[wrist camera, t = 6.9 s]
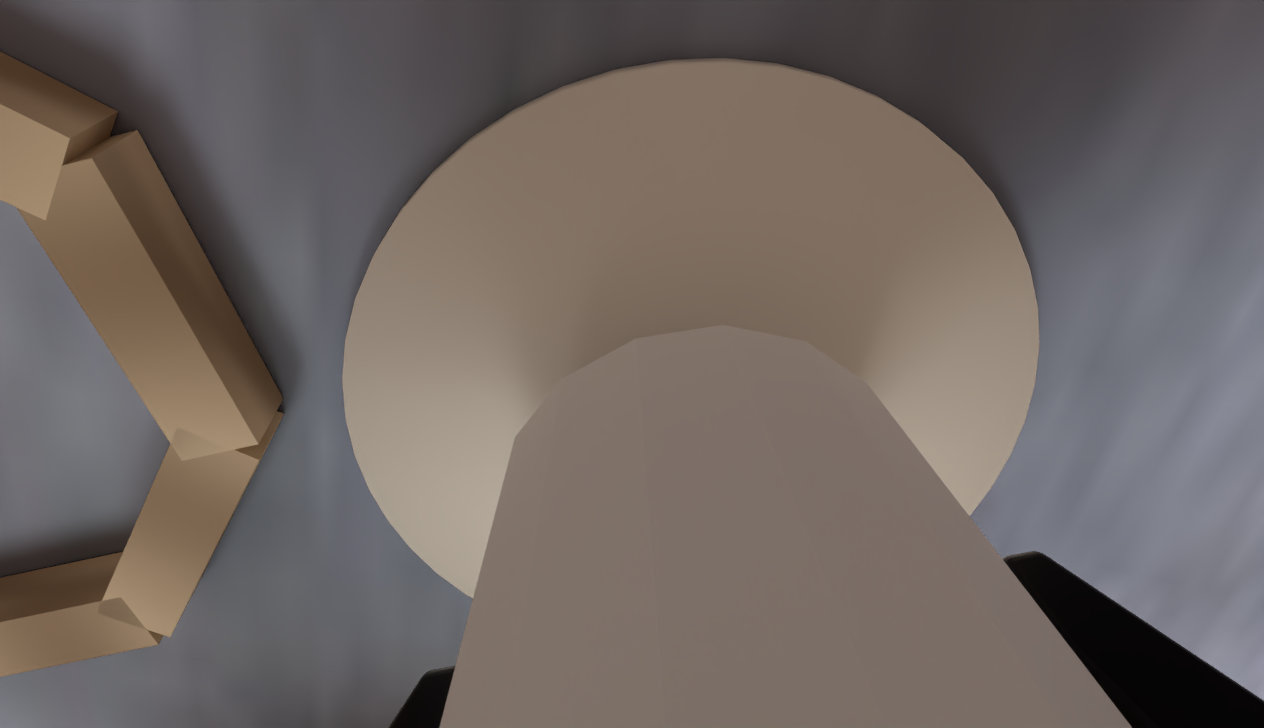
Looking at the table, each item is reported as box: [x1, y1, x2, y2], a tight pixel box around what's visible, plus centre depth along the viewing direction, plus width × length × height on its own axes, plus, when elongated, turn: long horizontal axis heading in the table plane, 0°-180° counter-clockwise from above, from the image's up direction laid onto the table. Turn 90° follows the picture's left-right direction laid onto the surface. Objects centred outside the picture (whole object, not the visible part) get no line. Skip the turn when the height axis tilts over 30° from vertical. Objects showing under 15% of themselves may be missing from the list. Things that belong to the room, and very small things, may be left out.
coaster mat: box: [342, 58, 1039, 598], centre depth 14 cm, size 11×11×1 cm
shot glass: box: [439, 325, 1132, 728], centre depth 9 cm, size 7×7×7 cm
